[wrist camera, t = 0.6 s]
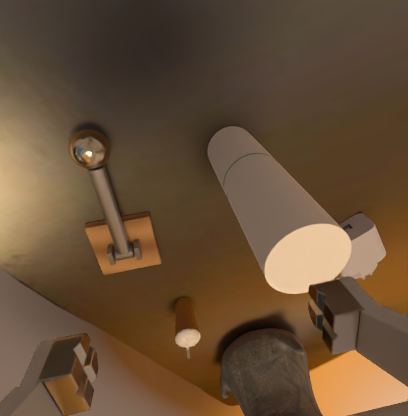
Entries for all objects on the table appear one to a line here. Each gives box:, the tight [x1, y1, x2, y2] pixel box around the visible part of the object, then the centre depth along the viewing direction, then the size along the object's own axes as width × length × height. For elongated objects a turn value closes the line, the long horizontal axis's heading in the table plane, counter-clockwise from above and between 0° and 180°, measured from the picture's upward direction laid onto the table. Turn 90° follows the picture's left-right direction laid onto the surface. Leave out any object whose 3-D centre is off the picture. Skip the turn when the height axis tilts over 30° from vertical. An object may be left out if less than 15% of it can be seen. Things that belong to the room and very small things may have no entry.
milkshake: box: [175, 297, 200, 359], centre depth 55 cm, size 4×5×10 cm
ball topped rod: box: [68, 129, 135, 261], centre depth 42 cm, size 21×5×5 cm, turn 7°
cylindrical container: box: [208, 126, 352, 294], centre depth 34 cm, size 7×7×25 cm
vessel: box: [220, 328, 323, 416], centre depth 63 cm, size 22×22×20 cm
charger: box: [339, 213, 386, 280], centre depth 57 cm, size 5×9×15 cm
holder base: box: [85, 212, 161, 275], centre depth 48 cm, size 10×10×4 cm
